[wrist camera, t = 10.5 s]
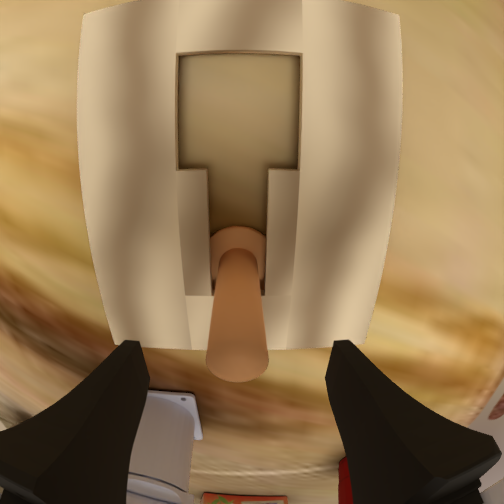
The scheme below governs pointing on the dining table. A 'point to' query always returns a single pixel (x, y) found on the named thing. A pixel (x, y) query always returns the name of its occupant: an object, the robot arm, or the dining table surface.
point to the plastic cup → (344, 483)
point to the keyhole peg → (237, 305)
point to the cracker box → (241, 499)
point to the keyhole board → (279, 180)
